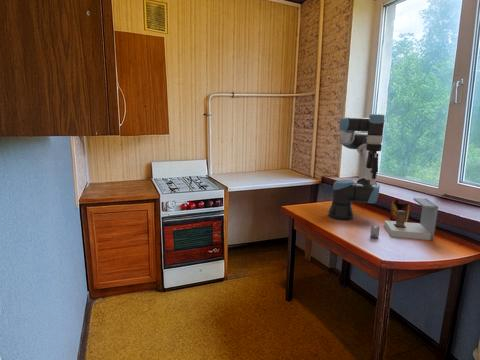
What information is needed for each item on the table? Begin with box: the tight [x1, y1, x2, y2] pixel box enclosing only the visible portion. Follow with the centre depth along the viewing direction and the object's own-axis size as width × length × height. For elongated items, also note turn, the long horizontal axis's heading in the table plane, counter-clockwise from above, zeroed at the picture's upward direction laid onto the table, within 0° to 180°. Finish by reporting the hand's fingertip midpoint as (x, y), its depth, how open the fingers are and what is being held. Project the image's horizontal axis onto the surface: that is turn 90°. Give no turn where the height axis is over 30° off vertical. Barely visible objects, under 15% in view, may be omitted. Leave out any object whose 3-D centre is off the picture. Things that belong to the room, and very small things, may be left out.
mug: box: [389, 199, 411, 222], centre depth 179 cm, size 10×14×12 cm
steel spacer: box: [369, 225, 380, 240], centre depth 155 cm, size 4×4×6 cm
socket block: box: [383, 197, 439, 241], centre depth 161 cm, size 16×20×18 cm
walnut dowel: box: [396, 210, 406, 228], centre depth 162 cm, size 4×4×12 cm
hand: (370, 182), depth 164 cm, fingers open, 13 cm apart
